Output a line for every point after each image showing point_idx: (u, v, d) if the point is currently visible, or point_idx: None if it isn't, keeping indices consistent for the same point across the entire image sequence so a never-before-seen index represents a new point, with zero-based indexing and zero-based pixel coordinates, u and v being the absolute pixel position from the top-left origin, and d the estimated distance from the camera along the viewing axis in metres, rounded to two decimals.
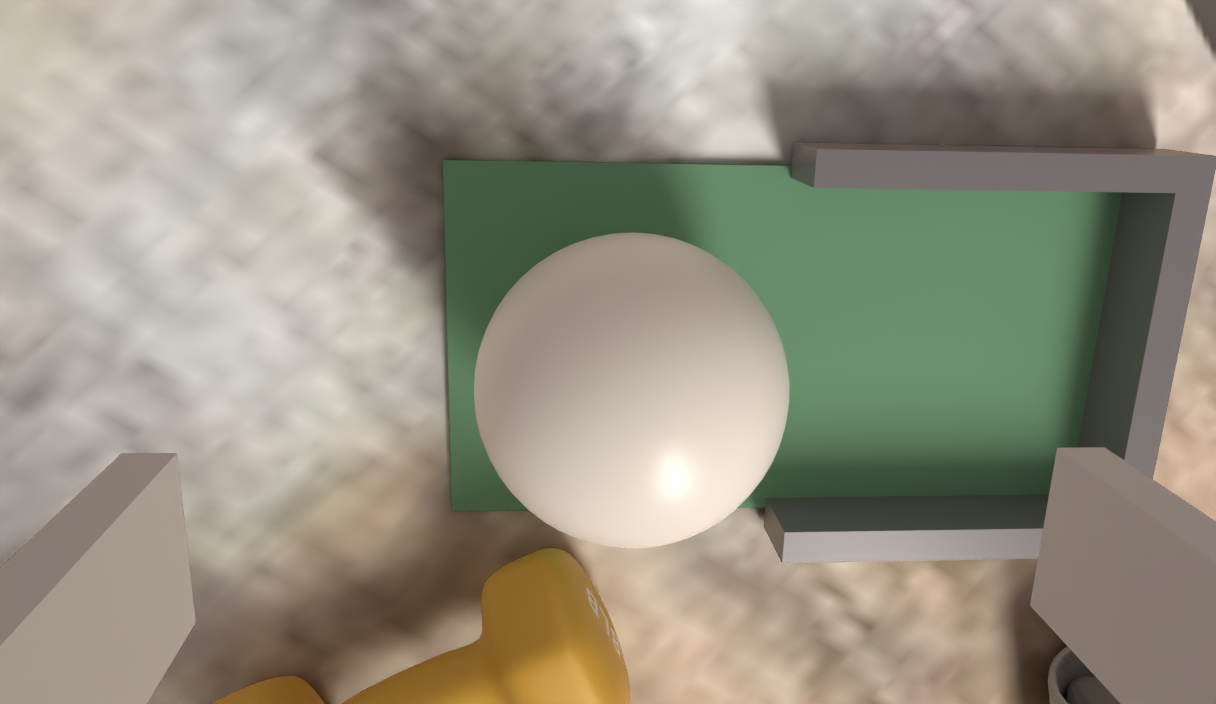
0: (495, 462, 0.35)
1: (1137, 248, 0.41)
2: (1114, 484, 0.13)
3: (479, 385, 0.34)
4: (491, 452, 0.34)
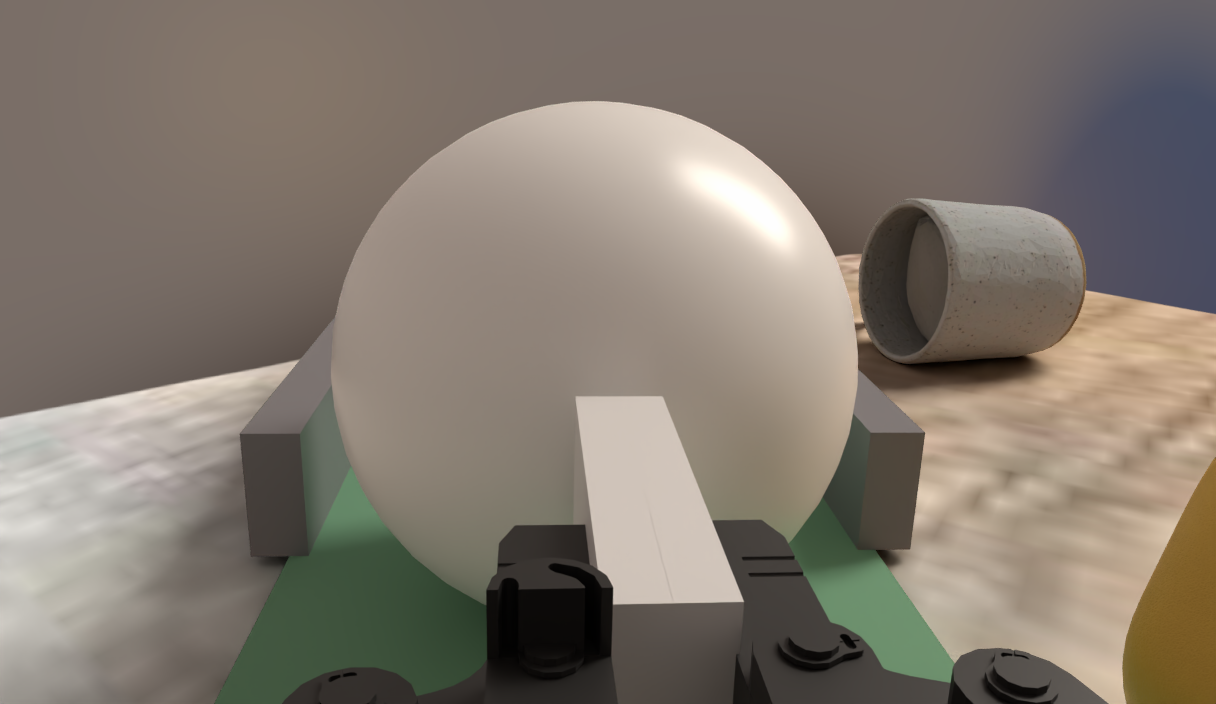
0: (698, 132, 0.20)
1: None
2: (632, 424, 0.15)
3: (568, 134, 0.19)
4: (680, 127, 0.19)
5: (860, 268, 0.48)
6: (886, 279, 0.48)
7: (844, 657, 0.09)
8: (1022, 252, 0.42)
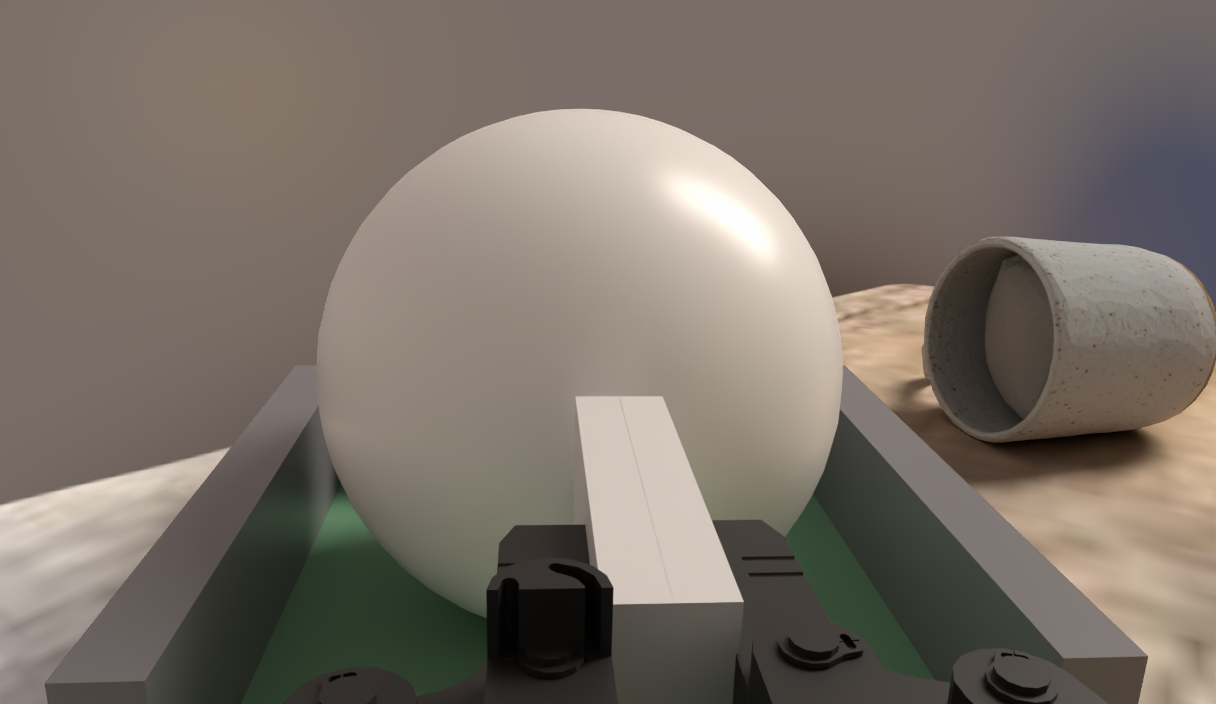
0: None
1: None
2: (631, 424, 0.15)
3: None
4: None
5: (926, 318, 0.39)
6: (958, 331, 0.39)
7: (844, 656, 0.09)
8: (1144, 307, 0.33)
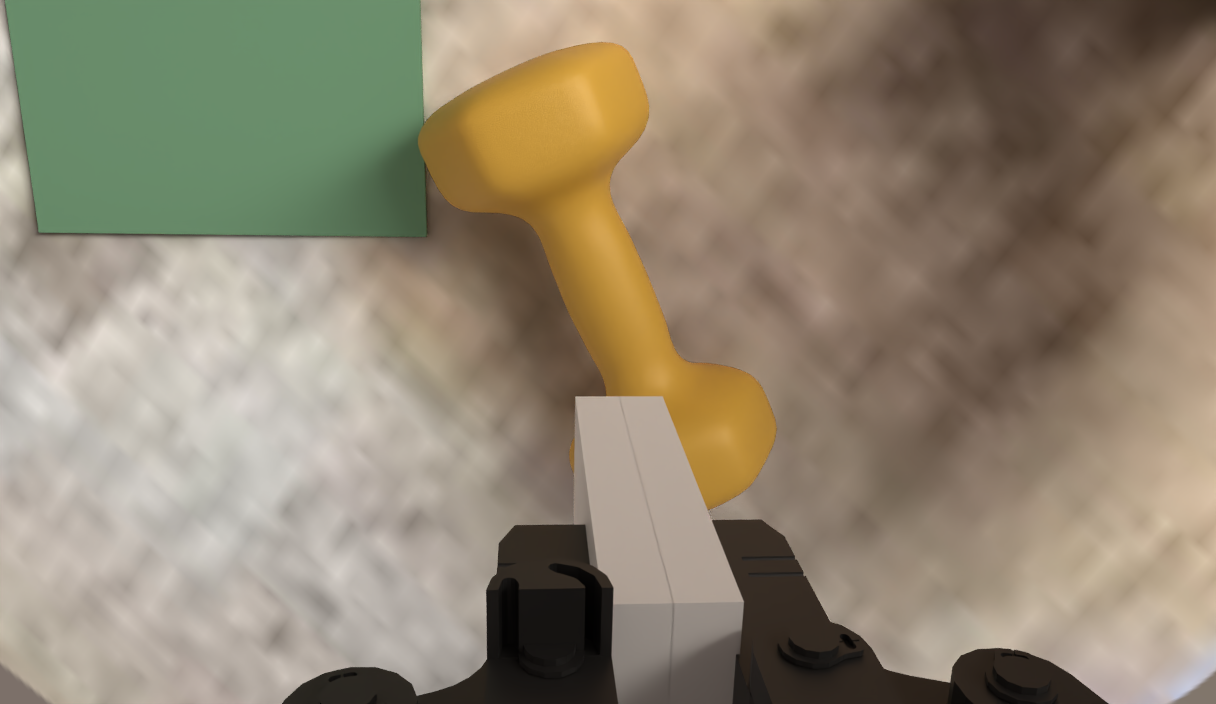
0: None
1: None
2: (631, 424, 0.15)
3: None
4: None
5: None
6: None
7: (844, 656, 0.09)
8: None
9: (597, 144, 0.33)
